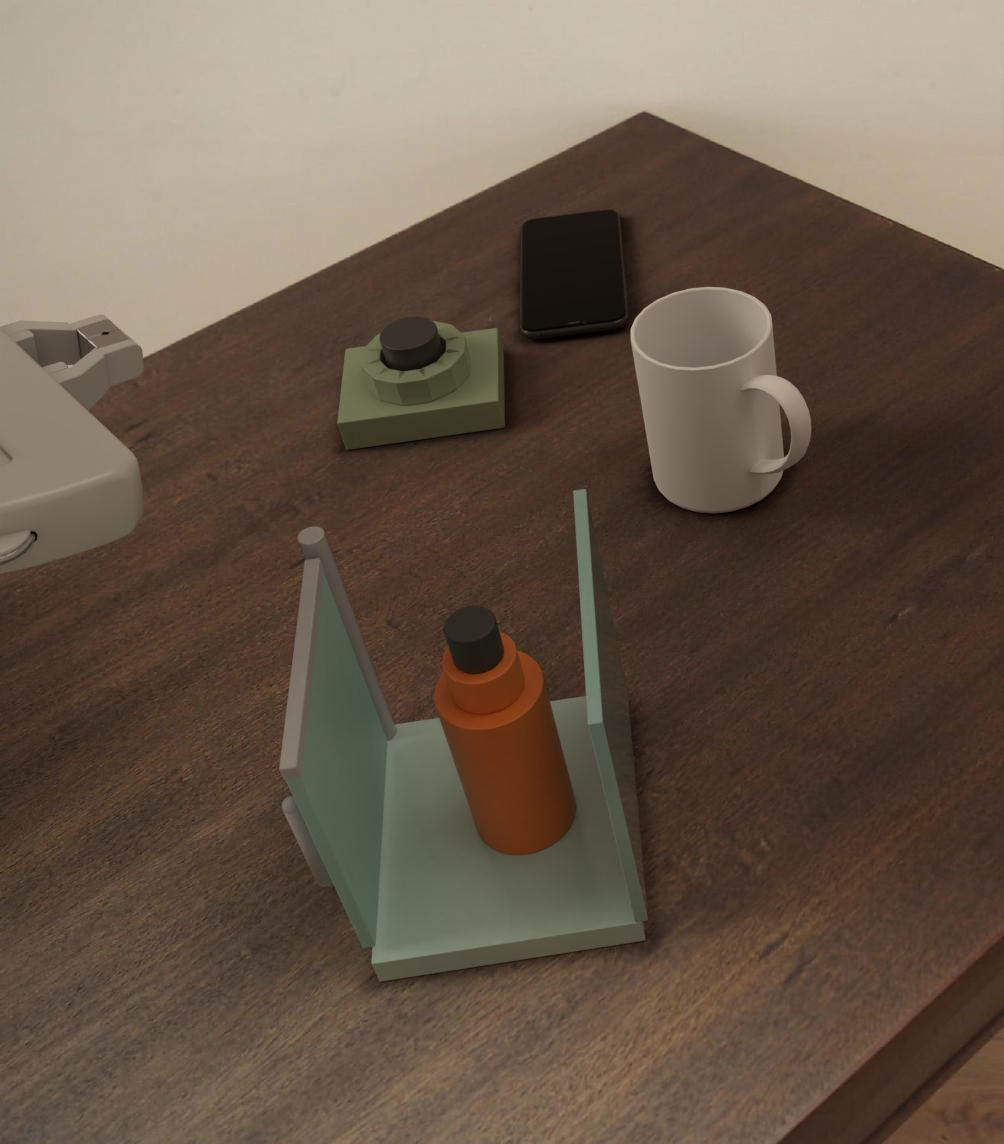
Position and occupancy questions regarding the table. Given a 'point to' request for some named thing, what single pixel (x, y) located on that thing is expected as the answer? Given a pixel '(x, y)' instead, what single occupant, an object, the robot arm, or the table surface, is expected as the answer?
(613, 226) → the smartphone
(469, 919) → the shower
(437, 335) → the button
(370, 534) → the table surface
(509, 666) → the shampoo bottle
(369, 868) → the shower door
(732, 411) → the mug
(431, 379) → the control block
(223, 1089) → the table surface
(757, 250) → the table surface
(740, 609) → the table surface
